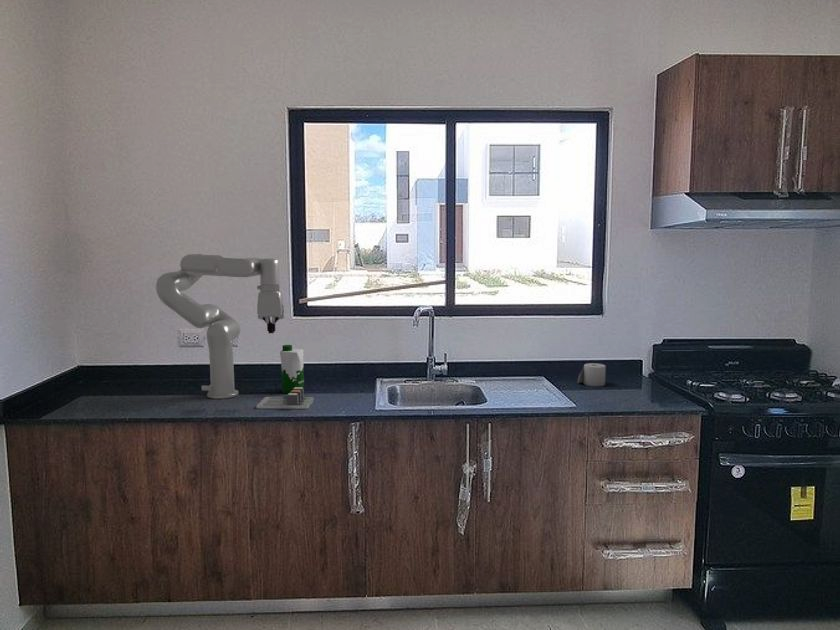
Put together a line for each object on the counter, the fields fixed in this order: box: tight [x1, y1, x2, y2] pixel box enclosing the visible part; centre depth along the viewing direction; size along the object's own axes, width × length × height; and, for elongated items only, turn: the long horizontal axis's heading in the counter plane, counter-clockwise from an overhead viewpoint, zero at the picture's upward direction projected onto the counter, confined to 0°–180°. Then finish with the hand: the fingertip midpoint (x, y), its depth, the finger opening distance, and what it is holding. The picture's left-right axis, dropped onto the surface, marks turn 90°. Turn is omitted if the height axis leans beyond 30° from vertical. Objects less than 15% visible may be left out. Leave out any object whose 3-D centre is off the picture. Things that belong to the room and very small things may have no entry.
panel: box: [256, 396, 315, 410], centre depth 250 cm, size 20×13×1 cm, turn 89°
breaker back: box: [293, 387, 305, 398], centre depth 255 cm, size 4×2×4 cm, turn 89°
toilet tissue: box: [576, 362, 607, 387], centre depth 283 cm, size 9×13×9 cm
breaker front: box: [286, 393, 299, 405], centre depth 245 cm, size 4×2×4 cm, turn 89°
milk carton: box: [279, 344, 305, 394], centre depth 270 cm, size 9×9×20 cm
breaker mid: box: [290, 390, 301, 401], centre depth 250 cm, size 4×2×4 cm, turn 89°
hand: (271, 332), depth 259 cm, fingers closed
